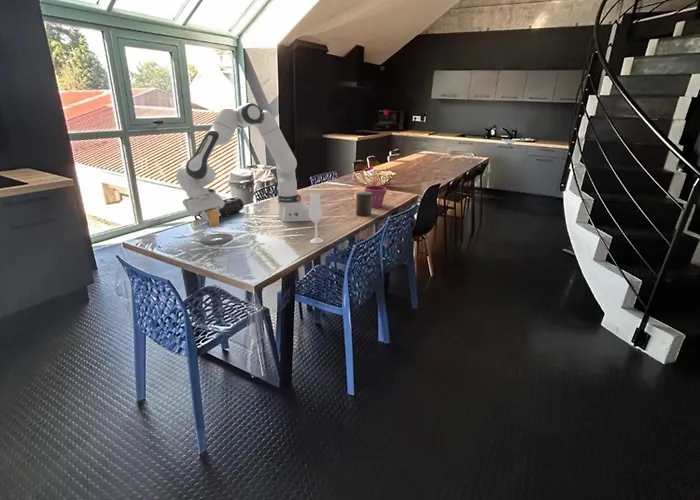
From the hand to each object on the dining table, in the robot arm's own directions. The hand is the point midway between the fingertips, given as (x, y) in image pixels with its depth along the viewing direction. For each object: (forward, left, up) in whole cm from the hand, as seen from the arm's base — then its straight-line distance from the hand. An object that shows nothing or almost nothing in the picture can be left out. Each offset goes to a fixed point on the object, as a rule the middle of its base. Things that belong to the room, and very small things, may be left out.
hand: (214, 217), depth 191 cm
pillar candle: (-72, -55, -12) cm, 91 cm away
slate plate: (0, 0, -12) cm, 12 cm away
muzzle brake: (+13, -38, -12) cm, 42 cm away
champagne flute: (-52, -3, -12) cm, 53 cm away
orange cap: (+1, 0, -4) cm, 4 cm away
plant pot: (-78, -75, -12) cm, 109 cm away
